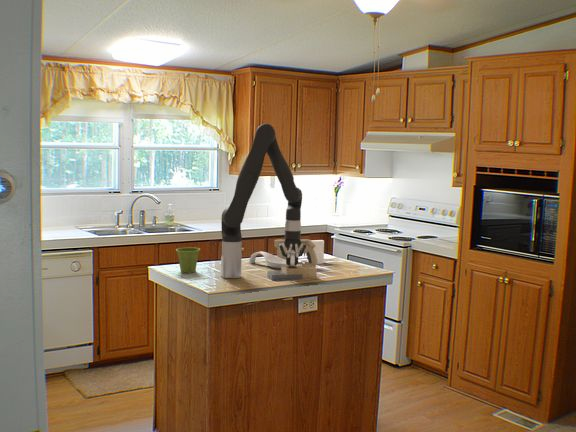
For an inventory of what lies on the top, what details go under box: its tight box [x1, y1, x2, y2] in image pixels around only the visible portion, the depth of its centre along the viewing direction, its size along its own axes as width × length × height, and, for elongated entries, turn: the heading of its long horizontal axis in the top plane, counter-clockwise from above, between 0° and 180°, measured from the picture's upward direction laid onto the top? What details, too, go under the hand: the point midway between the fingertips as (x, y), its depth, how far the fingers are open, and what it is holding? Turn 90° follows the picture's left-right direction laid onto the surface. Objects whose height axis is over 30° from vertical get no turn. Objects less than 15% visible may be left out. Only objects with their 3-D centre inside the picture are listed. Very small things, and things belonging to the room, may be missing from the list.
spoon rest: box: [248, 251, 288, 269], centre depth 314 cm, size 24×12×7 cm, turn 57°
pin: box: [289, 250, 296, 268], centre depth 286 cm, size 4×4×10 cm
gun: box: [273, 239, 318, 268], centre depth 315 cm, size 24×3×15 cm, turn 59°
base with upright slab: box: [306, 239, 325, 265], centre depth 327 cm, size 9×9×12 cm
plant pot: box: [175, 247, 201, 274], centre depth 294 cm, size 12×12×11 cm
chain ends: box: [266, 265, 318, 281], centre depth 286 cm, size 22×9×5 cm, turn 106°
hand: (292, 264), depth 286 cm, fingers closed on pin, 3 cm apart
